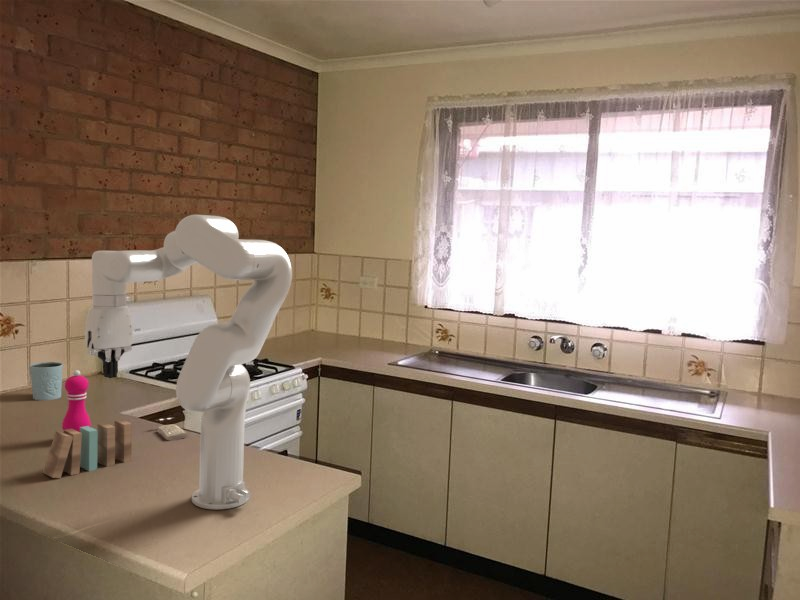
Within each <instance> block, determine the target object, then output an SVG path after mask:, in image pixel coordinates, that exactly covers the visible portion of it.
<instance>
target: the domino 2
mask: <svg viewBox="0 0 800 600" xmlns="http://www.w3.org/2000/svg"><path fill="white" fill-rule="evenodd" d="M63 432H64V433H66V434H69V435H71V436H73V440H72V443H71V446H70V449H69V453H68V456H67V459H66V462H65V465H64V469H63V472H64V473H66V474H68V475H70V476H75V475H79V474H80V470H81V469H80V468H81V467H80V455H81V438H82V433H80V432H78V431H76V430H73V429H67V430H63Z"/></svg>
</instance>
